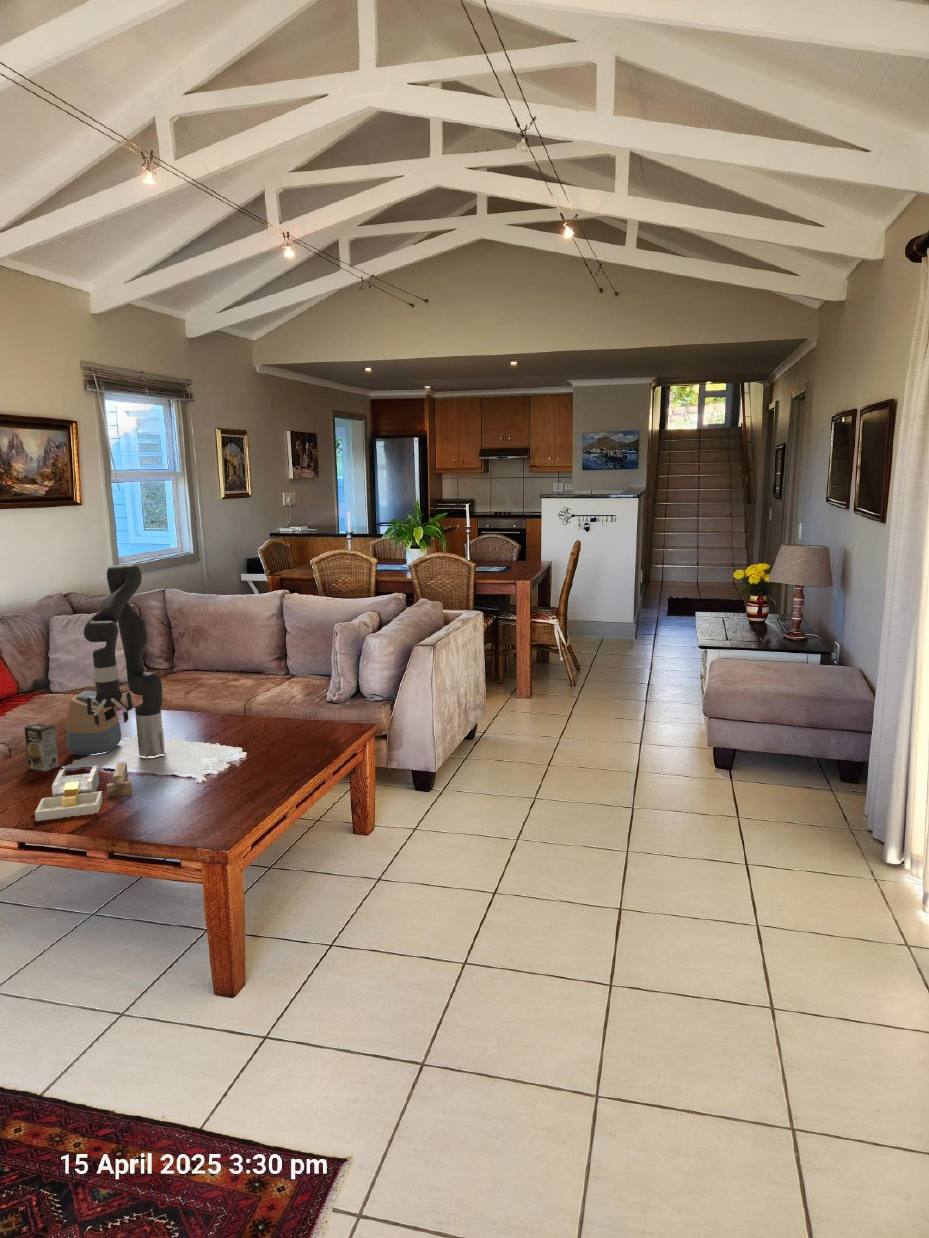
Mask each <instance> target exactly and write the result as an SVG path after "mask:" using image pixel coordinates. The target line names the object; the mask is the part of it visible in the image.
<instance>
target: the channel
mask: <svg viewBox="0 0 929 1238" xmlns="http://www.w3.org/2000/svg"><path fill="white" fill-rule="evenodd" d="M99 775H100V774H99V767H98V765H93V766H92V767H91V769H90V772H89V773H81V774H74V775H73V774H72V775H66V769H65V768H64V769H59V771H58V774H57V775H56V777H55V779H54V781H53V783H52V785H51V791H52V797H57V796H63V795H64V787H65V784H66V783H73V782H79V786H80V794H82V793H91V792H98V791H97V790H98V788H99V785H100V776H99ZM97 787H98V788H97Z"/></svg>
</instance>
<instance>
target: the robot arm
mask: <svg viewBox="0 0 929 1238" xmlns="http://www.w3.org/2000/svg"><path fill="white" fill-rule="evenodd" d="M142 578H143V577H142V571H141V569H140V567H138V565H136V564H119V565H111V566H109V567H108V568H107V570H106V581H107V585H108V588H109V592H110V595H108V596H107V597H106V598H105V599H104V600H103V601H102V603H101V605H100V607H99V609H98V611H97V613H95V614H94V615H93V616H92V617H91V618H90V619H89V620H88V621H87V622H86V624H85V625H84V628H83V635H84V638H85V640H87V642H89V643H104V642H105V646H103V647H100V648H97V649H94V650H93V652H92V661H93V675H94V678H93V681H94V685H95V692H96V697H91V696H88V697H87V713H88V715H90V714H91V715H94V720H95V724H97V726H100V719H99V714H98V713H99V711H100V710H101V709H102V707H104V708H108V707H118V709H120V710H121V711H122V716H123V717H122V718H123V723H127V721H129V711H131V710H133V707H134V705H133V699H132V695H131V693H132V694H133V695H136V696H141V697H142V703H139V704H137V705H136V706H135V710H134V711H135V725H136V734H137V735H136V736H137V747H138V756H139V755H140V756H145V757H148V756H156V755H159V754H164V751H165V752H166V749H165V737H164V735H165V734H164V728H163V718H162V706H163V682H162V678H161V677H160V675H159V674H158V673H156V672H150V671H146V669H145V667H144V660H143V659H144V658H143V657H144V652H145V650H146V646H147V643H148V631H147V626H146V623H145V620H144V619H143V617H142V615H140V614H139V612H138V611H137V610H136V609H135V608H134V607H133V606H132V605H131V604H130V603H129V601H130V599H132V597H133V595H134V594H136V592H137V591H138V589H139V588H140V586H141V584H142ZM117 623H118V624H117ZM119 634H120V640H121V642H122V648H123V654H124V659H125V660H124V661H125V668H126V676H127V677H126V679H127V685H128V688H129V691H127V692H124V693H122V691H121V685H120V684H121V683H120V678H119V676H120V675H119V671H118V670H119V669H118V665H117V658H116V648H117V641H118V636H119ZM122 698H124V700H126V701H127V706H126V705H125V704H124V703H123V702H122V701H121V700H122ZM94 700H96V701H97V702H98V703H99V705H98V707H97V708H96V710H95V711H94V710H92V703H93V702H94ZM164 755H165V754H164Z"/></svg>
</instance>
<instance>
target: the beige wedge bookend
mask: <svg viewBox="0 0 929 1238" xmlns="http://www.w3.org/2000/svg"><path fill="white" fill-rule="evenodd" d="M112 779H113V782H111V783H110V782H109V783H107V784H106V793H107V798H109V797H110V796H112V797H118V795H120V796H127V795H132V794H133V786H132V780H129V775H128V763H127V761H123V762H117V763H116V766H115V770H114V773H113V775H112ZM110 798H111V797H110Z"/></svg>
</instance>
